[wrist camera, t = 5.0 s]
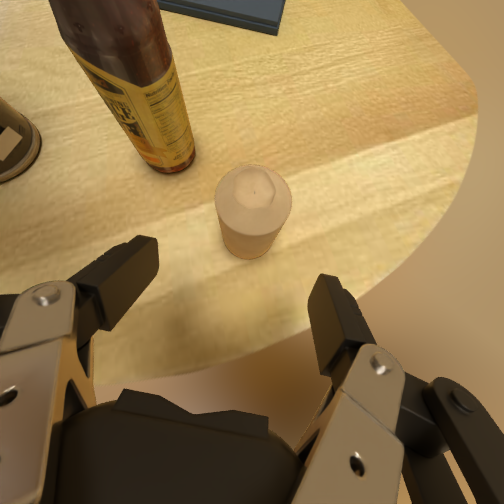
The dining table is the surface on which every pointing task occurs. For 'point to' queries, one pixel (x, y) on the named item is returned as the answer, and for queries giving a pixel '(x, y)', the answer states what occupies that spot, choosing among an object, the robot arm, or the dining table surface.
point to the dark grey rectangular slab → (232, 12)
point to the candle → (251, 209)
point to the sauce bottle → (131, 73)
